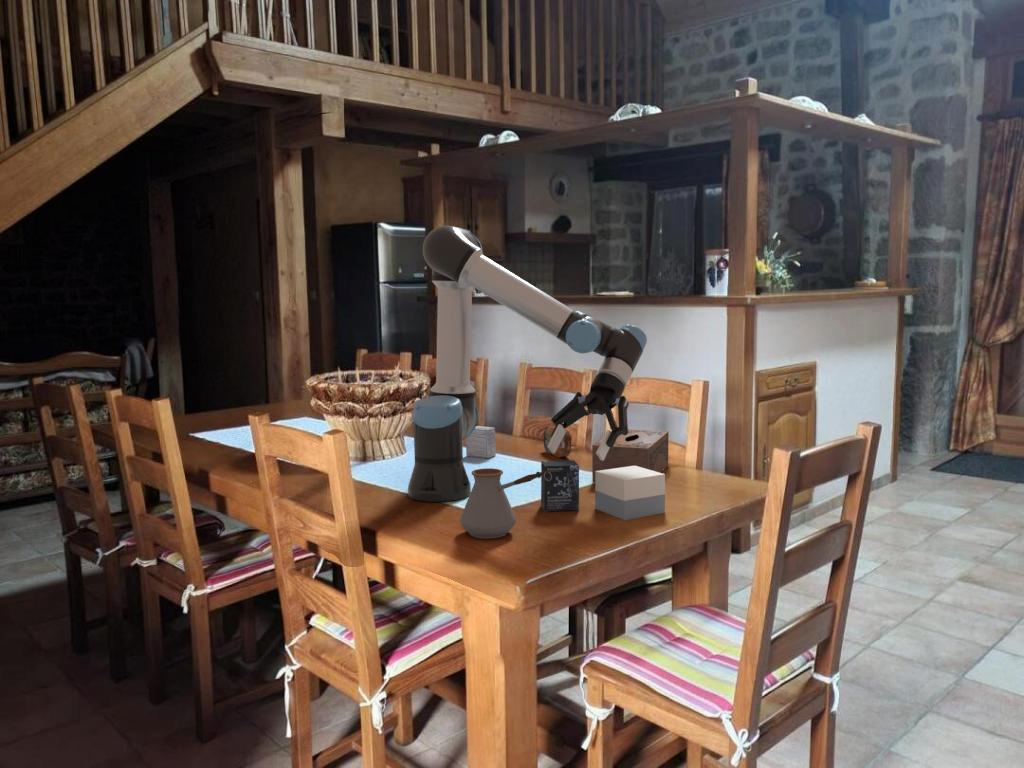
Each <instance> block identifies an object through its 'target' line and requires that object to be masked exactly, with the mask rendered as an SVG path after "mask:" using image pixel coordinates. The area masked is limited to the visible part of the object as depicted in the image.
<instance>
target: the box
mask: <svg viewBox="0 0 1024 768" xmlns="http://www.w3.org/2000/svg"><path fill="white" fill-rule="evenodd" d="M540 464H541V465H540V469H541V471H540V472H542V471H546V470H547V471H548V472H550V473H551V475H552V479H551V475H550V473H547V474H546V475H545V478H546V479H547V480H550V479H551V480H550V481H547V480H545V478H544V475H542V476H541V477H540V479H541V480H540V486H541V487H540V504H541V508H542V509H543V510H544V512H545V513H547V512H559V511H560V512H563V511H579V510H580V465H579V464H578V462H577V461H575V460H574V459H570V460H568V459H567V460H541V461H540Z"/></svg>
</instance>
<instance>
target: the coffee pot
mask: <svg viewBox="0 0 1024 768" xmlns="http://www.w3.org/2000/svg"><path fill="white" fill-rule="evenodd" d="M547 473H550V472H548V471H547V470H546V471H542V472H541V471H536V472H535V473H532V474H531V473H530V474H527V475H525V476H523V477H520V478H518V479H516V480H513V481H511V482H506V483H504V484H502V483H501V476H502V475H503V474H504V471H503V470H502V469H498V468H489V467H487V468H477V469H474V470H472V471H471V475H472V476H473V479H474V484H473V486H472V487H471V488H472V489H471V493H470V495H469V496H468V498H467V500H466V503H465V506H464V509H463V511H462V513H461V515H460V519H459V523H460V526H461V527H462V528H463V530H465V531H466V533H469V535H470V536H471V537H474V538H476V539H477V538H478V539H497V538H502V537H505V536H506V535H507V534H508V532H510V531H511V530H512V528H514V526H515V524H516V521H517V517H516V515H515V512H514V511H513V508H512V506H511V502H510V501H509V499H508V497H507V494H506V492H505V489H508V488H510V487H513V486H518V485H521V484H524V483H528V482H532V481H533V480H535V479H537V478H538V479H541V476H542V475H544V478H545V475H546V474H547ZM550 475H551V473H550ZM551 479H552V475H551ZM551 479H550V480H551ZM545 480H547V479H546V478H545ZM550 480H547V481H550Z"/></svg>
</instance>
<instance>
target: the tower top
mask: <svg viewBox="0 0 1024 768" xmlns="http://www.w3.org/2000/svg"><path fill="white" fill-rule="evenodd" d="M594 485H595V486H594V487H595V491H598V492H601V493H603V494H606V495H609V496H612V497H614V498H617V499H620V500H623V501H628V500H634V499H640V498H646V497H652V496H658V495H664V494H665V495H666V474H665V473H664V472H662V473H659V472H656V471H652V470H649V469H645V468H642V467H638V466H628V467H621V468H614V469H607V470H600V471H595V483H594ZM595 491H594V492H595Z"/></svg>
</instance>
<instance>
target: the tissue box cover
mask: <svg viewBox="0 0 1024 768" xmlns="http://www.w3.org/2000/svg"><path fill="white" fill-rule="evenodd" d="M669 437H670V435H669V431H667V430H666V431H663V430H645V429H629V428H628V434H627V435H623V434H622V435H620V436H618V437H617V439H616V441H615V443H614V446H613V447H610V448H609V450H608V452H607V454H606V457H605V459H604V461H602V460H600V459H599V457H598V456H597V454H596V452H597V450H598V448H599V446H600V444H601V442H602V440H603V438H602V439H600V440H598V441H597V442H595V443H594V444H592V445H591V446H592V447H591V448H592V449H591V450H592V452H591V453H592V455H591V456H592V457H591V459H592V461H591V462H592V463H591V464H592V467H591V468H592V469H591V471H592V478H591V479H592V480H591V481H592V482H595V471H600V470H607V469H614V468H621V467H628V466H638V467H642V468H645V469H649V470H652V471H656V472H659V473H661V472H662V471H663V469H665V467H667V466H668V467H669ZM668 467H667V468H668ZM665 470H666V469H665ZM663 472H664V471H663ZM663 472H662V473H663ZM592 482H591V483H592Z"/></svg>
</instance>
